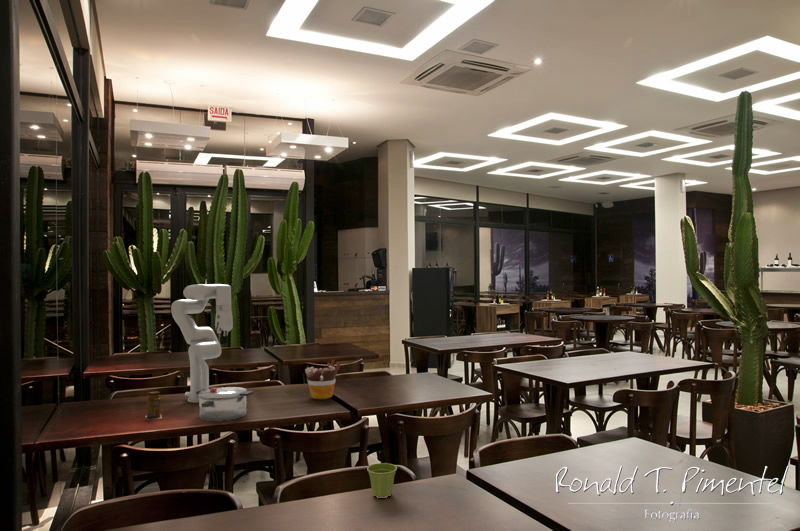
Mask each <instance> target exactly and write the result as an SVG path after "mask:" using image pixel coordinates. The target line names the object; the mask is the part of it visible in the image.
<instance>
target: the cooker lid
mask: <svg viewBox="0 0 800 531" xmlns="http://www.w3.org/2000/svg"><path fill="white" fill-rule="evenodd" d="M254 393H255V392H254V390H247V388H245V387H239V386H238V387H237V386H226V387H223V386H222V387H209V389H208V390H205V389H203V390H200V391H197V392H196V394H199V397H200V398H203V399H226V398H233V397H238V396H246V397H248V396H251V395H253V394H254Z"/></svg>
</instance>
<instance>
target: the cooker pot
mask: <svg viewBox="0 0 800 531" xmlns="http://www.w3.org/2000/svg"><path fill="white" fill-rule="evenodd" d="M198 405H199V414H198V415H199V419H200V420H203V421H209V422H224V421H223V420H226V421H232V420H231V419H233V420H236V418H237V419H241V418H243V417H245V416H246V415H247V396H238V397H233V398H226V399H203V398H200V397H199V404H198ZM240 417H241V418H240Z"/></svg>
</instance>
